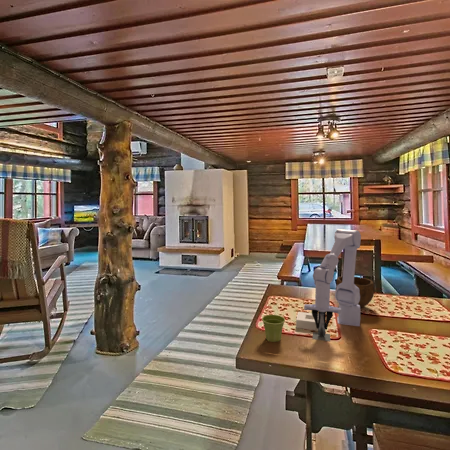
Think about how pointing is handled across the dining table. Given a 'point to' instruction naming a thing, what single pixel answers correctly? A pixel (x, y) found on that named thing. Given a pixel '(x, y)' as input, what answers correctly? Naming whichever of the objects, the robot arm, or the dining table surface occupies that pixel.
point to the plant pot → (273, 327)
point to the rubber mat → (321, 337)
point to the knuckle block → (305, 321)
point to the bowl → (362, 289)
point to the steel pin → (321, 323)
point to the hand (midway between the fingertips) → (321, 328)
